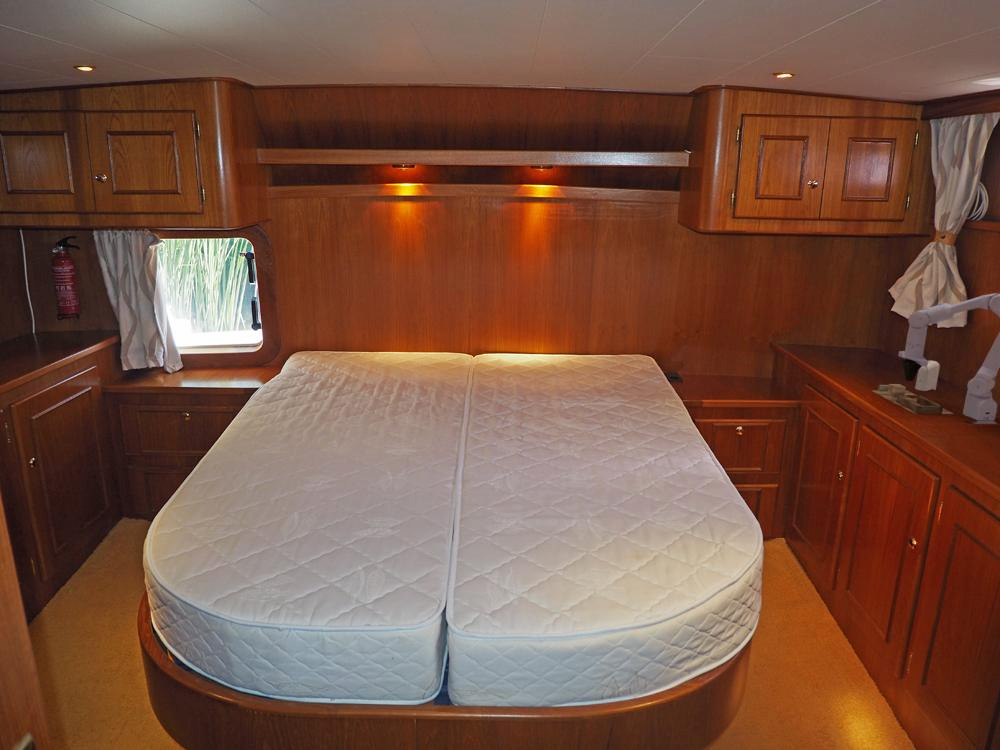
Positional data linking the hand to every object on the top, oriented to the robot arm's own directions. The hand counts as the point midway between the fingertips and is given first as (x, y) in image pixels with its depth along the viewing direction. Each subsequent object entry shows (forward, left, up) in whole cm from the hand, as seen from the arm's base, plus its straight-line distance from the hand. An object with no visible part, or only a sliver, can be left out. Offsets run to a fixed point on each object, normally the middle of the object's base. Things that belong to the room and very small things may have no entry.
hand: (909, 380), depth 258 cm
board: (+1, -1, -9) cm, 9 cm away
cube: (+6, 0, -8) cm, 10 cm away
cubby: (-8, 0, -8) cm, 11 cm away
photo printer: (+17, -18, -10) cm, 27 cm away
